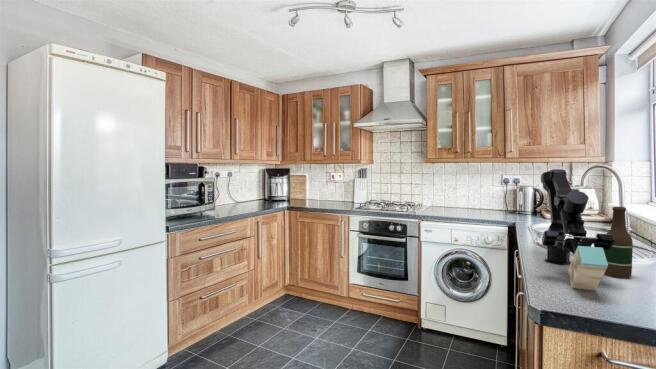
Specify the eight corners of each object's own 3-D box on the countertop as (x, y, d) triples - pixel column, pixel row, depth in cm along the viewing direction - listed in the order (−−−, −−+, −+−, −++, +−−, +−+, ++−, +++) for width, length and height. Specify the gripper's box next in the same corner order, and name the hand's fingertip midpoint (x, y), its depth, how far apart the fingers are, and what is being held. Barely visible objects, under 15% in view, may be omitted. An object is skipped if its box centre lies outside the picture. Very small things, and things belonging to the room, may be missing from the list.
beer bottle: (621, 280, 111) (623, 208, 110) (596, 273, 119) (599, 206, 117) (637, 277, 113) (640, 207, 112) (612, 271, 121) (615, 205, 119)
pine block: (567, 271, 108) (577, 245, 99) (590, 273, 106) (602, 247, 96) (571, 287, 104) (582, 263, 95) (595, 290, 102) (608, 265, 92)
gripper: (599, 238, 116) (610, 278, 106) (537, 234, 123) (542, 271, 114) (609, 218, 108) (622, 260, 99) (542, 215, 116) (548, 254, 106)
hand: (581, 262), depth 104 cm, fingers closed
